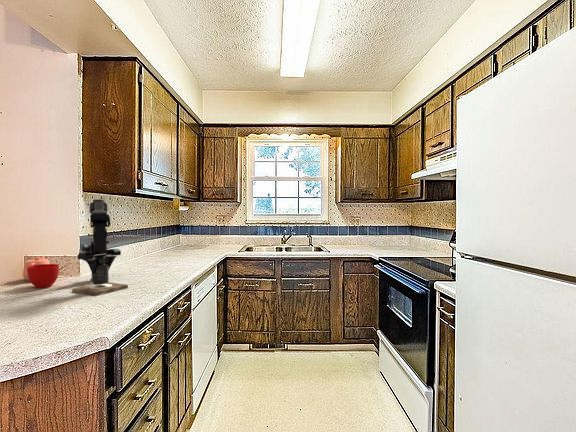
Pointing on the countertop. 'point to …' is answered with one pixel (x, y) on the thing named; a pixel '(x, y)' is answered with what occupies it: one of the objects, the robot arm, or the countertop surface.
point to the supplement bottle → (101, 272)
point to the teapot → (33, 262)
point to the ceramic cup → (43, 274)
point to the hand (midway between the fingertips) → (100, 272)
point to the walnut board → (99, 288)
